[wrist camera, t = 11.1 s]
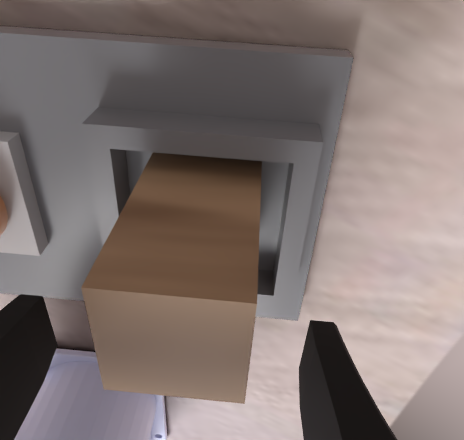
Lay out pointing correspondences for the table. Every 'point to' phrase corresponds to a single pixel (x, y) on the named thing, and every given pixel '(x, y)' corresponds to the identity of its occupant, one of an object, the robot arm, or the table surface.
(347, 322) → the table surface
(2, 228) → the button
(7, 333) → the robot arm
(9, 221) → the loading station
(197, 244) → the block
